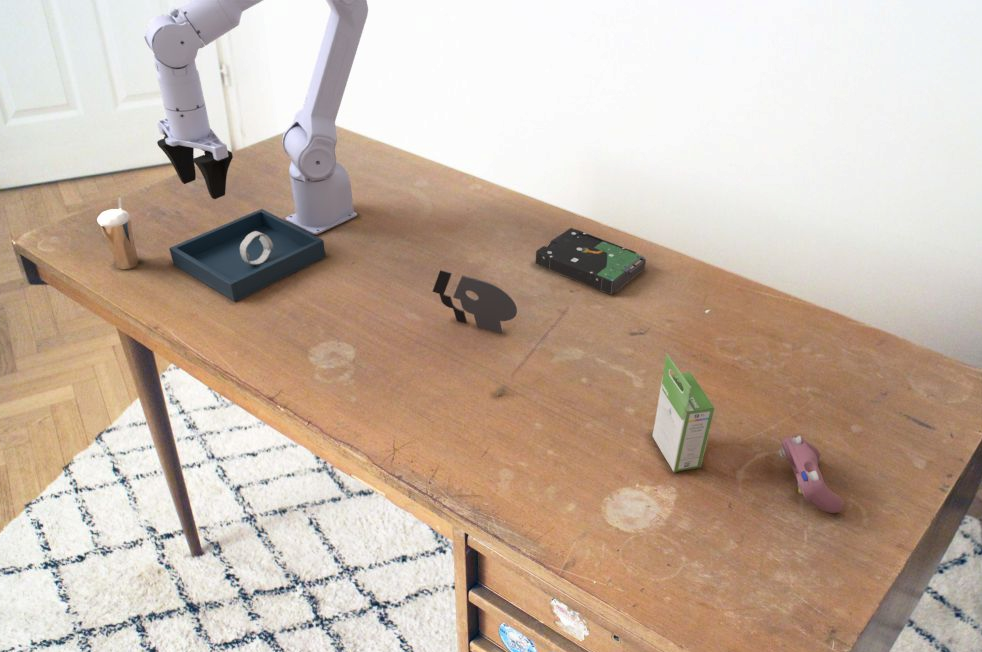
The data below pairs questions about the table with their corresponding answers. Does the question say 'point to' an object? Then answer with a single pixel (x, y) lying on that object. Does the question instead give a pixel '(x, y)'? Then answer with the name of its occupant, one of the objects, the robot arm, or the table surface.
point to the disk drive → (590, 260)
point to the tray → (222, 262)
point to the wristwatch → (265, 242)
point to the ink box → (682, 419)
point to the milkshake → (119, 236)
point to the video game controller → (809, 474)
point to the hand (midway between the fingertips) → (203, 188)
